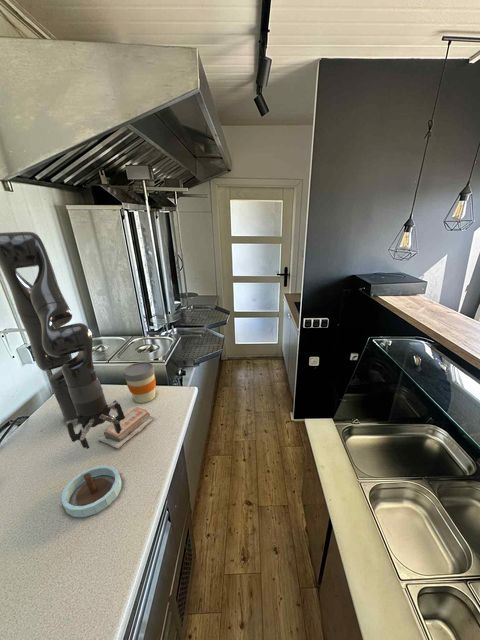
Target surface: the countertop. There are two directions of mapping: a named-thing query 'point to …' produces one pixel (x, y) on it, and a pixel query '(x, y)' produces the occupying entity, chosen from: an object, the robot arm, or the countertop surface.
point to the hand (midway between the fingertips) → (103, 439)
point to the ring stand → (92, 490)
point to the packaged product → (127, 427)
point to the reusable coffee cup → (141, 381)
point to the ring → (99, 504)
